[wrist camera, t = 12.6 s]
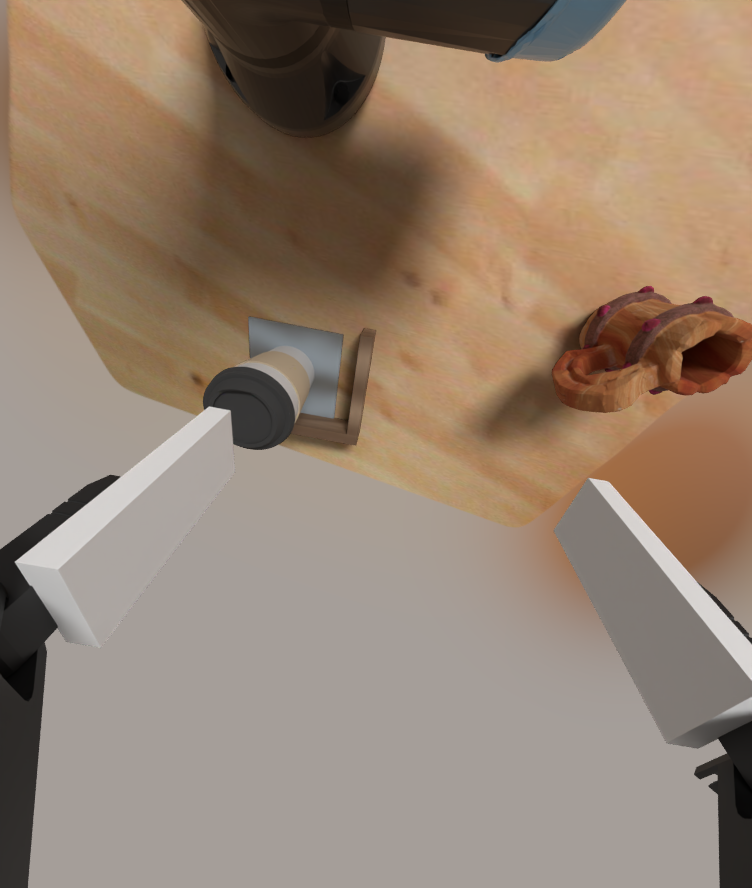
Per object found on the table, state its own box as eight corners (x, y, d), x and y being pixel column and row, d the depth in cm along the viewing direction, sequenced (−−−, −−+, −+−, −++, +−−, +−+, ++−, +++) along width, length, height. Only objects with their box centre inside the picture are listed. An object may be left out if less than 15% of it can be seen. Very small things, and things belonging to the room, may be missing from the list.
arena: (243, 304, 40) (227, 309, 36) (376, 330, 40) (373, 337, 37) (247, 410, 47) (235, 423, 44) (359, 431, 48) (356, 445, 44)
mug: (655, 270, 35) (802, 282, 22) (660, 339, 38) (790, 385, 25) (517, 332, 39) (572, 372, 26) (533, 389, 42) (589, 450, 30)
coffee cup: (323, 403, 45) (292, 463, 33) (261, 399, 46) (205, 457, 33) (320, 338, 41) (281, 378, 28) (250, 334, 41) (181, 372, 28)
